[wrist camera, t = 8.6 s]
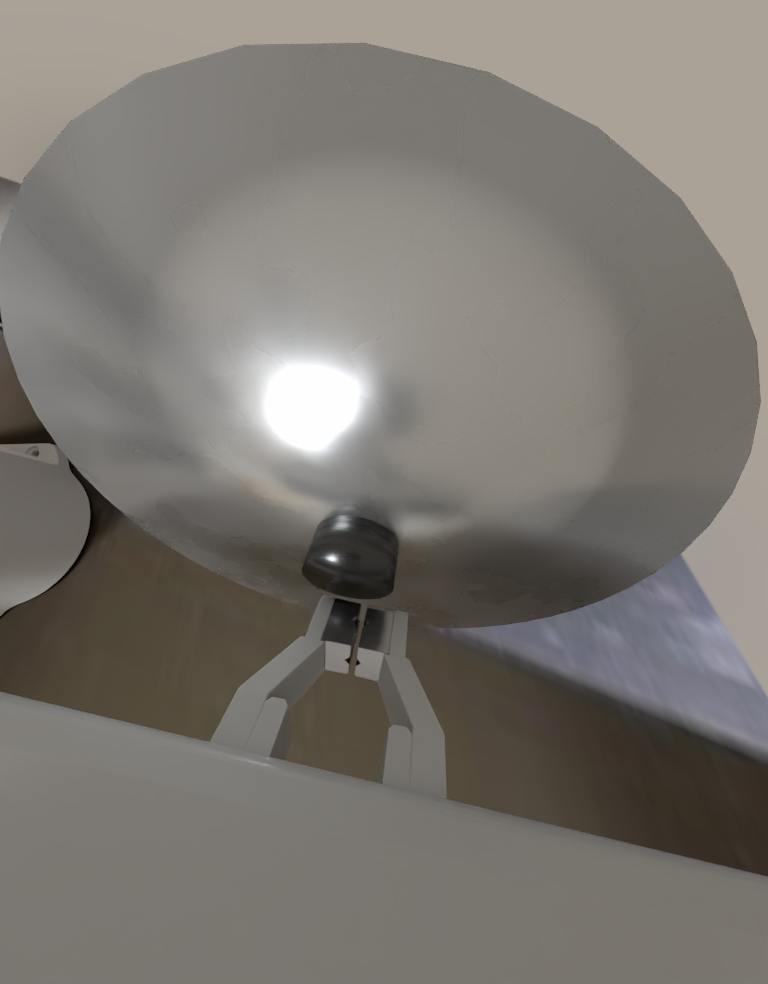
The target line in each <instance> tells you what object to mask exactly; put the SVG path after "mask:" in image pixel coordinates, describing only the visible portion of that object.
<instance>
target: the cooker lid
mask: <svg viewBox="0 0 768 984" xmlns="http://www.w3.org/2000/svg"><path fill="white" fill-rule="evenodd" d="M0 312H1V319H2V326H3V333H4V338H5V341H6V344H7V347H8V350H9V353H10V356H11V359H12V362H13V365H14V368H15V371H16V374H17V377H18V380H19V382H20V383H21V385H22V387H23V389H24V391H25V393H26V395H27V397H28V399H29V401H30V403H31V405H32V407H33V409H34V411H35V412H36V414H37V416H38V418H39V419H40V421H41V422H42V424H43V425H44V427H45V428H46V429H47V431H48V432H49V434H50V435H51V437H52V438H53V440H54V441H55V443H56V444H57V446H58V447H59V448H60V449H61V451H62V452H63V453H64V454H65V455H66V457H67V458H68V459H69V460H70V461H71V462H72V464H73V465H74V466H75V467H76V468H77V470H78V471H79V472H80V473H81V474H82V475H83V476H84V477H85V478H86V479H87V480H88V481H89V482H90V483H91V484H92V485H93V486H94V487H95V488H96V489H97V490H98V491H99V492H100V493H101V494H102V495H103V496H104V497H105V498H106V499H107V500H108V501H110V502H111V503H112V504H113V505H114V506H115V507H116V508H118V509H119V510H120V511H121V512H122V513H123V514H125V515H126V516H127V517H128V518H130V519H131V520H132V521H134V522H135V523H136V524H138V525H139V526H140V527H142V528H143V529H144V530H145V531H147V532H148V533H149V534H151V535H152V536H154V537H155V538H157V539H158V540H160V541H161V542H163V543H164V544H166V545H167V546H169V547H170V548H172V549H174V550H175V551H177V552H179V553H180V554H182V555H184V556H185V557H187V558H189V559H191V560H192V561H194V562H196V563H198V564H200V565H201V566H203V567H205V568H207V569H209V570H211V571H213V572H215V573H217V574H219V575H221V576H223V577H225V578H227V579H230V580H232V581H234V582H236V583H238V584H241V585H243V586H245V587H248V588H250V589H253V590H255V591H257V592H260V593H263V594H266V595H268V596H271V597H274V598H276V599H279V600H282V601H285V602H288V603H292V604H295V605H298V606H301V607H305V608H308V609H312V610H315V611H316V608H317V606H318V603H319V601H320V599H321V597H322V596H323V595H325V596H330V597H335V598H338V599H343V600H348V601H352V602H357V603H361V604H362V608H361V613H360V616H361V617H360V620H361V621H365V615H366V611H367V607H368V605H374V606H379V607H384V608H390V609H394V610H398V611H403V612H408V625H407V626H408V627H423V628H472V627H487V626H497V625H506V624H513V623H520V622H526V621H531V620H536V619H541V618H545V617H550V616H554V615H557V614H561V613H565V612H568V611H572V610H575V609H578V608H581V607H584V606H587V605H589V604H592V603H595V602H598V601H601V600H603V599H605V598H607V597H610V596H612V595H614V594H616V593H618V592H621V591H623V590H625V589H627V588H629V587H631V586H633V585H634V584H636V583H638V582H639V581H641V580H643V579H645V578H646V577H648V576H650V575H652V574H653V573H655V572H656V571H658V570H659V569H660V568H662V567H663V566H664V565H666V564H667V563H668V562H670V561H671V560H672V559H674V558H675V557H677V556H678V555H679V554H681V553H682V552H683V551H684V550H685V549H686V548H687V547H688V546H689V545H690V544H691V543H692V542H693V541H694V540H695V539H696V538H697V537H698V536H699V535H700V534H701V533H702V532H703V531H704V530H705V529H706V528H707V527H708V526H709V525H710V524H711V522H712V521H713V519H714V518H715V517H716V515H717V514H718V513H719V511H720V510H721V508H722V507H723V506H724V504H725V503H726V501H727V500H728V499H729V497H730V496H731V495H732V493H733V491H734V489H735V486H736V484H737V482H738V480H739V478H740V475H741V473H742V471H743V469H744V467H745V464H746V462H747V460H748V458H749V455H750V453H751V449H752V444H753V439H754V434H755V429H756V424H757V418H758V414H759V408H760V403H761V400H760V384H759V369H758V355H757V341H756V338H755V336H754V333H753V330H752V327H751V324H750V321H749V319H748V316H747V313H746V310H745V307H744V304H743V302H742V299H741V296H740V293H739V290H738V287H737V285H736V282H735V279H734V276H733V273H732V271H731V270H730V268H729V267H728V266H727V264H726V263H725V261H724V260H723V258H722V257H721V256H720V254H719V253H718V251H717V250H716V248H715V247H714V246H713V244H712V243H711V241H710V240H709V238H708V237H707V236H706V234H705V233H704V231H703V230H702V228H701V227H700V225H699V224H698V222H697V221H696V220H695V218H694V217H693V215H692V214H691V212H690V211H689V210H688V208H687V207H686V205H685V204H684V202H683V201H682V200H681V198H680V197H679V196H678V195H677V194H675V193H674V192H673V191H672V190H671V189H669V188H668V187H667V186H666V185H665V184H663V183H662V182H661V181H660V180H659V179H658V178H657V177H655V176H654V175H653V174H652V173H651V172H650V171H648V170H647V169H646V168H645V167H644V166H642V165H641V164H640V163H639V162H638V161H637V160H636V159H634V158H633V157H632V156H631V155H630V154H629V153H627V152H626V151H625V150H624V149H623V148H622V147H620V146H619V145H618V144H617V143H616V142H615V141H613V140H612V139H611V138H610V137H609V136H608V135H606V134H605V133H604V132H603V131H602V130H601V129H599V128H598V127H596V126H595V125H592V124H590V123H589V122H587V121H585V120H583V119H580V118H578V117H577V116H575V115H573V114H571V113H569V112H567V111H565V110H563V109H561V108H559V107H557V106H555V105H553V104H551V103H549V102H547V101H545V100H543V99H541V98H539V97H537V96H535V95H533V94H531V93H529V92H527V91H525V90H523V89H521V88H519V87H517V86H515V85H513V84H511V83H509V82H507V81H505V80H503V79H501V78H499V77H497V76H495V75H493V74H491V73H489V72H486V71H482V70H477V69H473V68H469V67H465V66H460V65H456V64H452V63H447V62H443V61H439V60H434V59H431V58H426V57H422V56H418V55H413V54H409V53H405V52H401V51H396V50H392V49H388V48H383V47H379V46H375V45H371V44H366V43H337V44H336V43H335V44H334V43H333V44H269V45H242V46H238V47H235V48H231V49H228V50H224V51H221V52H218V53H214V54H211V55H207V56H204V57H200V58H197V59H193V60H190V61H187V62H183V63H180V64H176V65H173V66H170V67H166V68H162V69H159V70H156V71H152V72H149V73H145V74H142V75H141V76H139V77H138V78H136V79H135V80H133V81H131V82H130V83H128V84H127V85H125V86H124V87H122V88H121V89H119V90H118V91H116V92H115V93H113V94H112V95H110V96H109V97H107V98H105V99H104V100H102V101H101V102H99V103H98V104H96V105H95V106H93V107H92V108H90V109H89V110H87V111H86V112H84V113H83V114H81V115H80V116H78V117H77V118H75V119H73V120H72V121H70V122H69V123H68V124H67V126H66V127H65V128H64V130H63V131H62V132H61V133H60V134H59V136H58V137H57V138H56V139H55V140H54V142H53V143H52V145H51V146H50V147H49V148H48V149H47V150H46V152H45V153H44V154H43V155H42V157H41V158H40V159H39V160H38V162H37V163H36V164H35V165H34V167H33V168H32V169H31V170H30V172H29V173H28V174H27V175H26V177H25V178H24V180H23V182H22V185H21V188H20V190H19V193H18V195H17V198H16V201H15V203H14V206H13V208H12V211H11V214H10V216H9V219H8V221H7V224H6V227H5V229H4V232H3V234H2V242H1V253H0Z"/></svg>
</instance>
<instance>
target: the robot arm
mask: <svg viewBox="0 0 768 984" xmlns="http://www.w3.org/2000/svg"><path fill="white" fill-rule="evenodd" d="M89 525H90V505H89V500H88V497H87V494H86V492H85V490H84V488H83V486H82V485H81V483H80V482H79V481H78V480H77V478H76V477H75V476H74V475H73V473H72V472H71V470H70V468H69V462H68V458H67V457H66V455H65V454H64V453H63V452H62V451H61V449H60V448H59V447H58V446H57V445H53V444H48V443H40V444H0V616H1V615H2V614H3V613H4V612H5V611H6V610H8V609H10V608H11V607H13V606H15V605H18V604H20V603H23V602H25V601H27V600H30V599H32V598H34V597H36V596H38V595H39V594H41V593H43V592H44V591H46V590H47V589H48V588H50V587H51V586H52V585H54V584H55V583H56V582H57V581H58V580H59V579H60V578H61V577H62V576H63V575H64V574H65V573H66V572H67V571H68V570H69V568H70V567H71V566H72V565H73V563H74V562H75V560H76V559H77V557H78V555H79V554H80V552H81V550H82V548H83V545H84V543H85V540H86V538H87V534H88V530H89ZM361 608H362V604H361V603H357V602H352V601H348V600H343V599H338V598H335V597H330V596H325V595H323V596H322V597H321V599H320V601H319V603H318V606H317V608H316V611H315V613H314V616H313V618H312V621H311V623H310V626H309V628H308V631H307V633H306V636H305V637H303V636H301V637H299V638H298V639H297V640H296V641H295V642H293V643H292V644H291V645H290V646H288V647H287V648H286V649H285V650H284V651H282V652H281V653H280V654H279V655H277V656H276V657H275V658H274V659H273V660H271V661H270V662H269V663H268V664H267V665H265V666H264V667H263V668H262V669H260V670H259V671H258V672H257V673H256V674H254V675H253V676H252V677H251V678H250V679H248V680H247V681H246V682H245V683H243V684H242V685H241V686H240V687H239V688H238V690H237V692H236V694H235V695H234V697H233V699H232V701H231V703H230V705H229V707H228V709H227V711H226V712H225V714H224V716H223V718H222V720H221V722H220V724H219V726H218V727H217V729H216V731H215V733H214V735H213V737H212V739H211V741H210V742H207V741H203V740H198V739H194V738H190V737H186V736H182V735H178V734H173V733H169V732H165V731H161V730H157V729H153V728H149V727H144V726H140V725H136V724H132V723H128V722H124V721H120V720H115V719H111V718H107V717H103V716H99V715H95V714H90V713H86V712H82V711H78V710H74V709H70V708H66V707H61V706H57V705H53V704H49V703H45V702H41V701H37V700H32V699H28V698H24V697H20V696H16V695H12V694H7V693H3V692H0V984H768V877H767V876H763V875H759V874H755V873H750V872H746V871H742V870H738V869H734V868H730V867H725V866H721V865H717V864H713V863H709V862H705V861H701V860H696V859H692V858H688V857H684V856H680V855H676V854H672V853H667V852H663V851H659V850H655V849H651V848H647V847H642V846H638V845H634V844H630V843H626V842H622V841H618V840H613V839H609V838H605V837H601V836H597V835H593V834H589V833H584V832H580V831H576V830H572V829H568V828H564V827H559V826H555V825H551V824H547V823H543V822H539V821H535V820H530V819H526V818H522V817H518V816H514V815H510V814H506V813H501V812H497V811H493V810H489V809H485V808H481V807H476V806H472V805H468V804H464V803H460V802H456V801H452V800H447V796H446V766H445V736H444V733H443V731H442V728H441V726H440V724H439V722H438V720H437V718H436V716H435V714H434V711H433V709H432V707H431V705H430V703H429V701H428V699H427V696H426V694H425V692H424V690H423V688H422V686H421V684H420V681H419V679H418V677H417V675H416V673H415V671H414V669H413V666H412V664H411V662H410V660H409V659H406V658H405V652H406V639H407V625H408V612H403V611H398V610H394V609H390V608H384V607H379V606H374V605H368V607H367V611H366V615H365V622H364V627H363V629H362V634H361V638H360V643H359V647H358V654H357V663H356V670H355V676H359V677H363V678H367V679H371V680H375V681H378V685H379V688H380V691H381V695H382V698H383V701H384V704H385V707H386V711H387V714H388V717H389V720H390V724H391V727H390V728H389V730H388V733H387V736H386V739H385V742H384V745H383V748H382V751H381V754H380V757H379V764H378V772H377V779H376V782H373V781H369V780H364V779H360V778H356V777H352V776H348V775H344V774H340V773H335V772H331V771H327V770H323V769H319V768H315V767H310V766H306V765H302V764H298V763H294V762H290V761H286V760H285V758H286V755H287V751H288V748H289V745H290V742H291V739H292V732H291V725H290V718H289V710H290V709H291V708H292V707H293V706H294V704H295V703H296V702H297V701H298V700H299V699H300V698H301V697H302V696H303V694H304V693H305V692H306V691H307V690H308V689H309V688H310V687H311V686H312V684H313V683H314V682H315V681H316V680H317V679H318V678H319V677H320V676H321V675H322V673H323V672H324V670H329V671H335V672H340V673H345V674H348V672H349V668H350V663H351V659H352V655H353V648H354V643H355V642H356V638H357V633H358V629H359V623H360V617H361V616H360V613H361Z"/></svg>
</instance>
